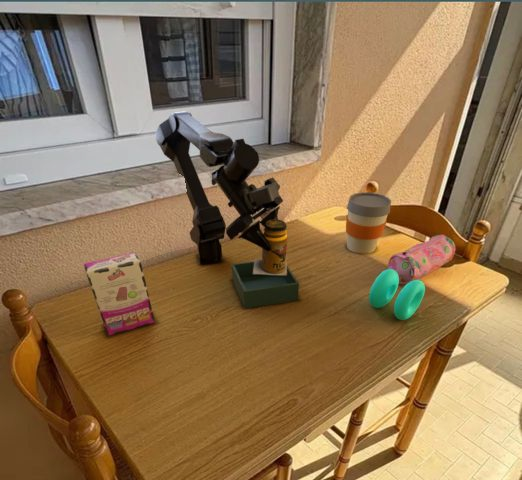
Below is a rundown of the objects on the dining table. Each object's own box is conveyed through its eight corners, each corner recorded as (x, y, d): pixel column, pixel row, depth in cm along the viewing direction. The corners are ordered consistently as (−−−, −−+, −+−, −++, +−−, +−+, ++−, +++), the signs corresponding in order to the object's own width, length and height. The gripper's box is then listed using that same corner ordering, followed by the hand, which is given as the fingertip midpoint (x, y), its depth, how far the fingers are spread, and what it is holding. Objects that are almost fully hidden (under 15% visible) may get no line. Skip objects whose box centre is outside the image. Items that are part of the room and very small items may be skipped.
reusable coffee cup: (385, 256, 117) (397, 207, 107) (344, 256, 117) (352, 207, 107) (376, 238, 126) (386, 192, 116) (338, 238, 126) (345, 191, 116)
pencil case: (406, 291, 102) (416, 261, 96) (379, 277, 107) (387, 247, 101) (452, 268, 111) (463, 239, 105) (425, 256, 117) (434, 228, 111)
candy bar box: (150, 312, 94) (136, 251, 83) (155, 323, 90) (141, 260, 80) (103, 324, 90) (82, 262, 79) (107, 336, 87) (86, 273, 76)
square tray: (244, 308, 95) (244, 291, 92) (232, 280, 106) (231, 263, 102) (297, 300, 98) (299, 283, 95) (280, 273, 109) (281, 257, 105)
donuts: (384, 295, 100) (393, 261, 94) (419, 311, 95) (432, 276, 88) (363, 311, 95) (371, 275, 88) (399, 328, 90) (410, 292, 83)
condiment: (286, 275, 95) (290, 230, 87) (252, 274, 95) (253, 228, 87) (286, 261, 100) (289, 217, 92) (254, 260, 100) (254, 215, 92)
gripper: (235, 180, 77) (280, 244, 81) (278, 158, 90) (315, 214, 93) (206, 210, 86) (249, 267, 89) (249, 186, 98) (285, 236, 101)
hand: (276, 245), depth 93 cm, fingers closed on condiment, 6 cm apart
